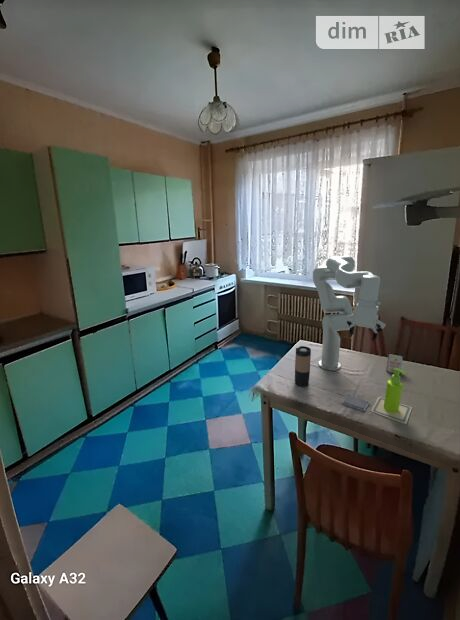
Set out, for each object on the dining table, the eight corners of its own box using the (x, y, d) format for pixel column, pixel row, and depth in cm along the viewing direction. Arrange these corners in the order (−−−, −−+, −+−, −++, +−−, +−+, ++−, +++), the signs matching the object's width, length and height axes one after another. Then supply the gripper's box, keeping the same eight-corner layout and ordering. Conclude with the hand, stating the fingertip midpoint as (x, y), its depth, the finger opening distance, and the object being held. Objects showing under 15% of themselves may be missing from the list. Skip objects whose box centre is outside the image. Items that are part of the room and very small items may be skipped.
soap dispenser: (395, 415, 126) (402, 374, 120) (380, 407, 132) (386, 367, 126) (403, 411, 129) (410, 371, 123) (389, 403, 135) (395, 364, 129)
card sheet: (378, 397, 140) (378, 396, 140) (412, 407, 131) (412, 407, 131) (370, 411, 130) (370, 410, 130) (406, 424, 121) (406, 423, 121)
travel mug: (309, 388, 149) (311, 352, 143) (294, 386, 151) (295, 351, 145) (308, 380, 156) (310, 346, 151) (294, 379, 158) (295, 345, 152)
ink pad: (347, 396, 142) (347, 393, 141) (369, 403, 135) (369, 401, 135) (341, 403, 136) (342, 401, 135) (364, 412, 130) (364, 409, 129)
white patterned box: (386, 368, 166) (389, 352, 163) (400, 371, 162) (403, 355, 159) (385, 371, 163) (388, 355, 160) (399, 374, 159) (402, 358, 156)
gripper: (390, 303, 127) (384, 339, 133) (350, 297, 138) (346, 330, 143) (386, 308, 122) (380, 345, 128) (345, 301, 132) (341, 335, 138)
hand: (362, 337), depth 135 cm, fingers open, 9 cm apart
